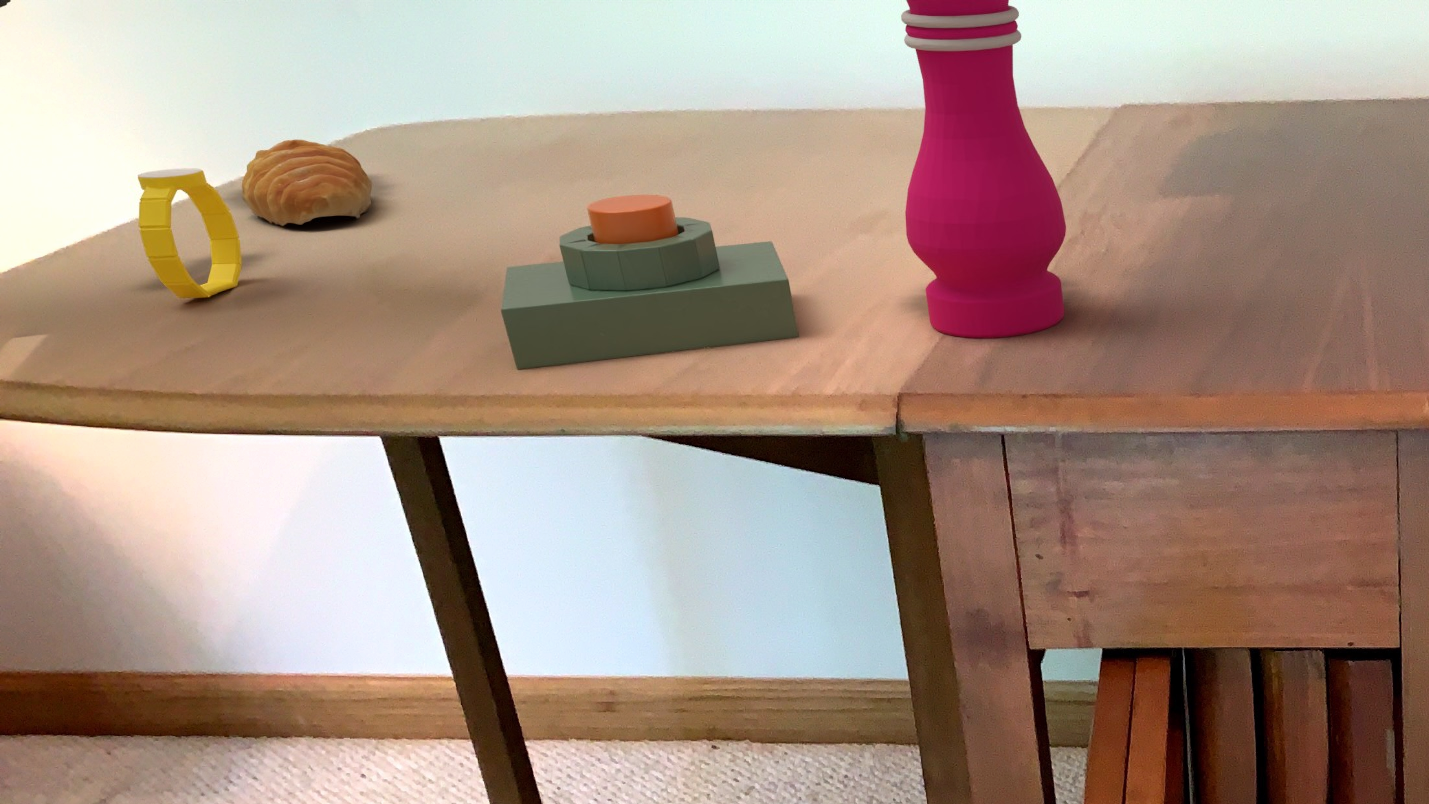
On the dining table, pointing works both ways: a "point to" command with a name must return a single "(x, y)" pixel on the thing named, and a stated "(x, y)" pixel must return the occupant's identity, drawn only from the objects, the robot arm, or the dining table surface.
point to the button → (632, 219)
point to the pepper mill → (979, 178)
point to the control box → (645, 298)
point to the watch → (161, 240)
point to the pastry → (305, 183)
